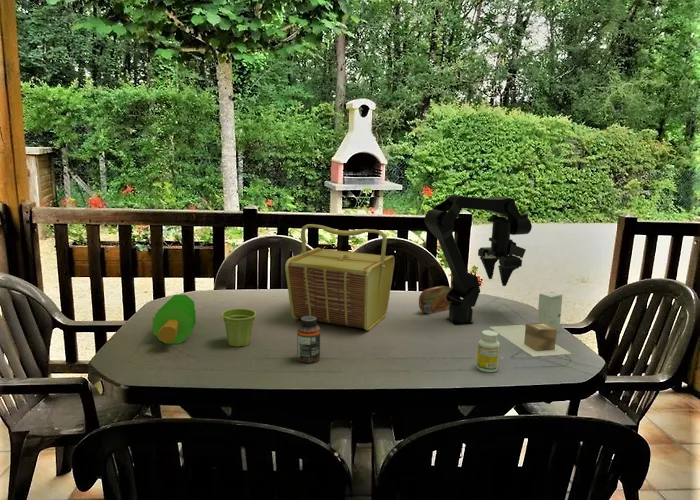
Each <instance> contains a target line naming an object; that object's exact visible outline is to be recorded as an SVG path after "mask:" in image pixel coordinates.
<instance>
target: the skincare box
mask: <svg viewBox="0 0 700 500" xmlns="http://www.w3.org/2000/svg"><path fill="white" fill-rule="evenodd" d="M562 301H563V294H561V293H559V292H554V291H546V292H541V293H539V295H538V306H537V307H538V309H537V317H536V323H546V324H548V325H550V326H552V327H553V328H555V329H557V333H558V332H560V328H561V327H560V325H561V313H562V303H563V302H562Z"/></svg>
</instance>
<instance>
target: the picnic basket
mask: <svg viewBox="0 0 700 500" xmlns="http://www.w3.org/2000/svg"><path fill="white" fill-rule="evenodd" d="M308 228H315V229H321V230H323V231H325V232H327V233H330V234H333V235H337V236H342V237H343V236H345V237H346V236H347V237H348V236H359V235H362V234H365V233H370V234H371V233H372V234H379V235H380V236H381V237H382V242H381V250H380V251H381V252H380V254H374V253H366V252H365V253H363V252H355V251H345V250H344V251H343V250H336V249H335V250H334V249H327V248H320V247H316V248H312V249H311V250H308V251H307V244H306V230H307V229H308ZM300 238H301V239H300V240H301V253H300V254H297V255H295V256H291V257H289V258H288V259H287V260H286V262H285V266H284V268H285V276H286V283H287V284H286V285H287V292H288V299H289V300H288V301H289V305H290V306H289V307H290V313H291V316H292V318H293V319H295V320H299V319H300V320H301V318H302V317H304V316H313V317H316V322H319V323H325V324H332V325H338V326H339V325H340V326H344V327H351V328H358V329H363V330H365V331H371V329H372V328H374V327H375V326H376V325H377V324H378V323H379V322H381V321H382V320H383V319H384V318H385V316H386V315H387V311H388V309H389V301H390V295H391V287H392V283H393V276H394V270H395V259H396V258H395V256H394V255H392V254H391V255H386V251H387V242H388V239H387V235H386V233H384V232H383V231H382V230H378V229H369V228H363V229H353V230H341V229H335V228H332V227H329V226H325V225H323V224H322V225H321V224H314V223H312V224H311V223H309V224H305V225H304V226H302V227H301V231H300Z"/></svg>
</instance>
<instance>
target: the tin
mask: <svg viewBox="0 0 700 500" xmlns="http://www.w3.org/2000/svg"><path fill="white" fill-rule="evenodd" d="M451 289H452V288H451V287H449V286H445V285H439V286H434V287H430V288H426V289H424V290H422V291H421V293H420V295H419V297H418V307H419V309H420V311H421V312H423V313H425V314H428V315H432V314H436V313H440V312H443V311H444V312H445V311H447V310H449V308H450V303H452V302H449V301H447V298H446V295H447V294H448V292H449V291H450V290H451Z"/></svg>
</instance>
